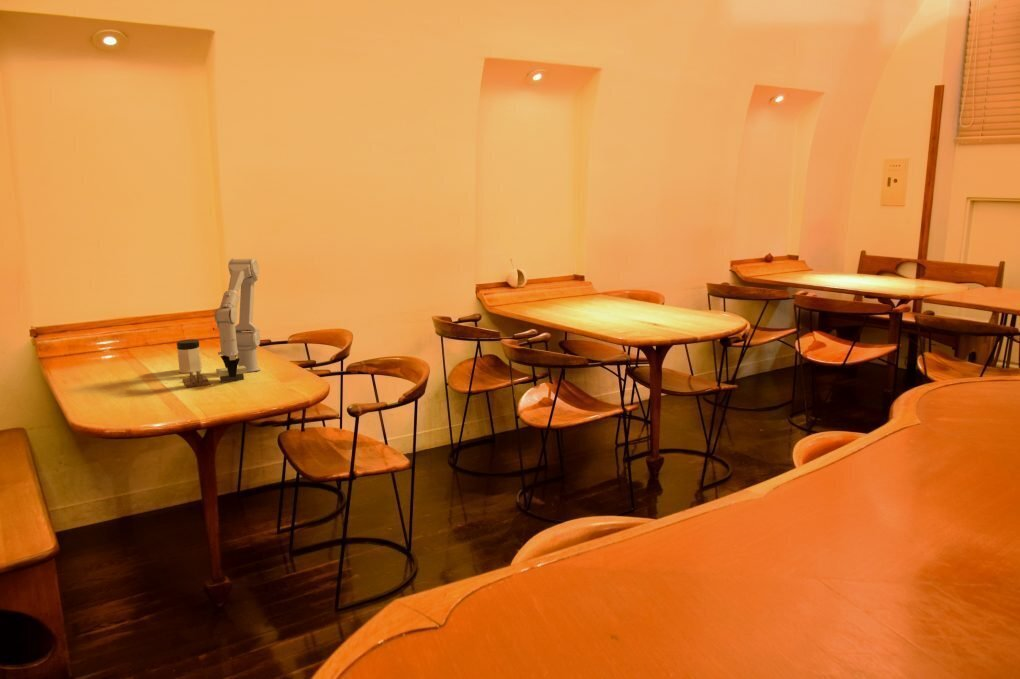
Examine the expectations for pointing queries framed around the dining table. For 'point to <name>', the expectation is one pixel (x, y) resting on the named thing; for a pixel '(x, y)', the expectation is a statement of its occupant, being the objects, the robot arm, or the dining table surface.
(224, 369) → the shelf board
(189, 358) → the jar
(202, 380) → the peg base
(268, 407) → the dining table surface
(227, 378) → the block
